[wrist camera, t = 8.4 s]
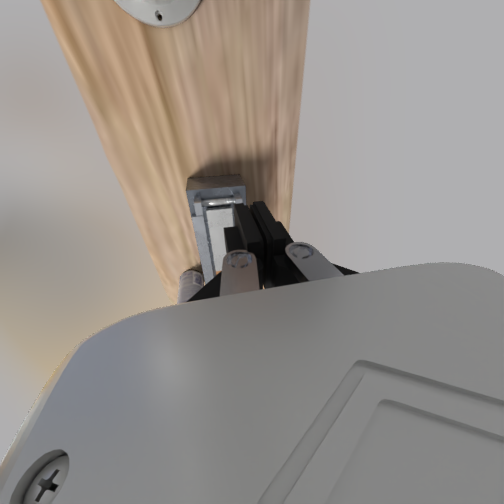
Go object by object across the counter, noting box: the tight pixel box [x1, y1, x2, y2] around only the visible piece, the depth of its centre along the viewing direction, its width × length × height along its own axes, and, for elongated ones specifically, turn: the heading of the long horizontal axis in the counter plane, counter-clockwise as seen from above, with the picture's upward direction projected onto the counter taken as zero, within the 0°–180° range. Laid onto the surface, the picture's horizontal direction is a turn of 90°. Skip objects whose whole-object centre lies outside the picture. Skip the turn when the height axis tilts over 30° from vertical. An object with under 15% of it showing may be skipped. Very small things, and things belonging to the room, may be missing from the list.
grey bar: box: [206, 206, 233, 275], centre depth 37 cm, size 16×4×1 cm, turn 1°
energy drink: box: [177, 270, 204, 304], centre depth 44 cm, size 5×5×12 cm
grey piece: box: [186, 174, 246, 284], centre depth 39 cm, size 22×9×9 cm, turn 1°
